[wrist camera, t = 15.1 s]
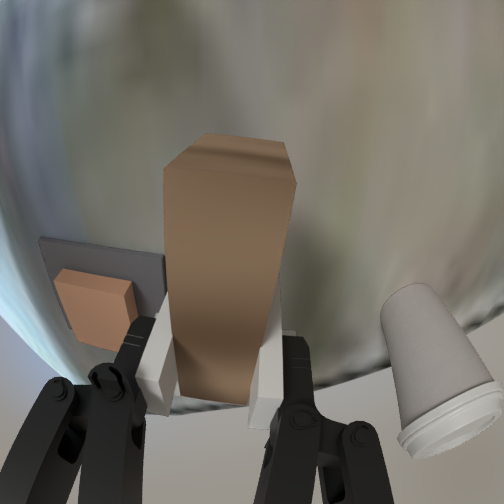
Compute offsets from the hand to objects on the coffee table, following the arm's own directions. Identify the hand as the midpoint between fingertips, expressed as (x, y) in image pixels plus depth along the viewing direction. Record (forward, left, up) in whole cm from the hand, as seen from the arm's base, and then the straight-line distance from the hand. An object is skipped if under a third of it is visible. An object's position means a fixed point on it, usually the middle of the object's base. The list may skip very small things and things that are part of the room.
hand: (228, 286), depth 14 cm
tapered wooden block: (+3, 0, 0) cm, 3 cm away
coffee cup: (+8, +18, -9) cm, 21 cm away
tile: (+8, -13, -7) cm, 17 cm away
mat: (+11, -13, -9) cm, 19 cm away
